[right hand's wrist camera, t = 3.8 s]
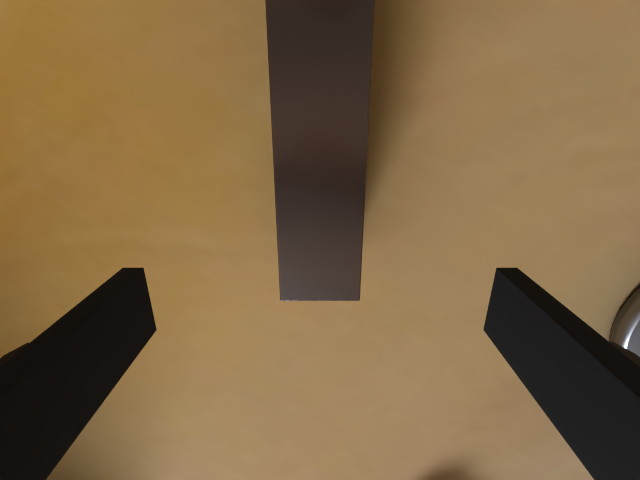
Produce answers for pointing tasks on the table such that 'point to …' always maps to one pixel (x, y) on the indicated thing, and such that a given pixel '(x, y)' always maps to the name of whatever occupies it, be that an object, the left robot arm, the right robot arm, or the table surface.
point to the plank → (320, 142)
